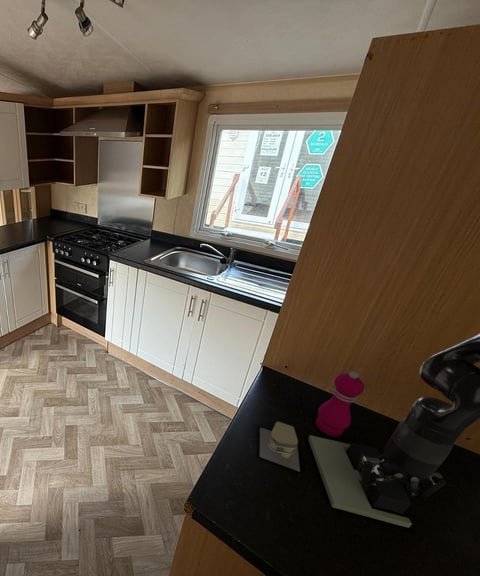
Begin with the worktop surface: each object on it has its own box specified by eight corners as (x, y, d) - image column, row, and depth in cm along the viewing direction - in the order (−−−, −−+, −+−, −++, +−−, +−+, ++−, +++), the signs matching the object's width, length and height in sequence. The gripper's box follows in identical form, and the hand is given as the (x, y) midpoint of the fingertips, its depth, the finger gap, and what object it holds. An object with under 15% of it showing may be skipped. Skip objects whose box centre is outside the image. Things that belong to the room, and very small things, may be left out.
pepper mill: (309, 426, 88) (334, 371, 79) (317, 412, 92) (341, 359, 83) (340, 443, 83) (370, 386, 74) (347, 428, 87) (375, 372, 78)
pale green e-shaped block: (369, 452, 80) (371, 448, 80) (408, 528, 65) (412, 524, 64) (307, 438, 84) (309, 435, 83) (331, 507, 69) (334, 503, 68)
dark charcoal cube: (370, 458, 79) (376, 448, 77) (381, 478, 74) (388, 468, 73) (345, 452, 80) (351, 442, 79) (354, 472, 76) (361, 461, 74)
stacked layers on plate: (260, 427, 87) (264, 413, 85) (296, 439, 84) (302, 425, 81) (259, 457, 79) (264, 442, 77) (300, 472, 76) (306, 457, 73)
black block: (389, 489, 71) (397, 478, 69) (402, 514, 66) (411, 503, 64) (361, 482, 72) (368, 471, 70) (372, 506, 68) (380, 495, 66)
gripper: (450, 439, 63) (411, 489, 70) (366, 421, 67) (338, 471, 74) (478, 473, 56) (433, 525, 64) (383, 452, 60) (351, 503, 68)
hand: (382, 496), depth 69 cm, fingers closed on black block, 5 cm apart
